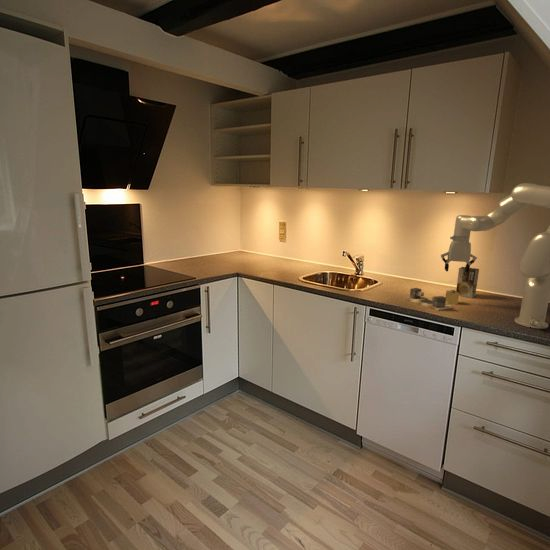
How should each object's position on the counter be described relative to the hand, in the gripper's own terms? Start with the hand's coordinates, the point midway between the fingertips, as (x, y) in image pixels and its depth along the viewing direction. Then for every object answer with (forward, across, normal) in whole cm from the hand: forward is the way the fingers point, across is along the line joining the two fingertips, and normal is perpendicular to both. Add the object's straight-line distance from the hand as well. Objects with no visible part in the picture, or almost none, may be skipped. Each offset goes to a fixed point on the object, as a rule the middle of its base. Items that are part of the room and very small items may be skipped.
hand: (456, 271), depth 193 cm
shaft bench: (+17, -14, -7) cm, 23 cm away
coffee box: (+17, +11, +17) cm, 27 cm away
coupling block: (+17, -1, -1) cm, 17 cm away
